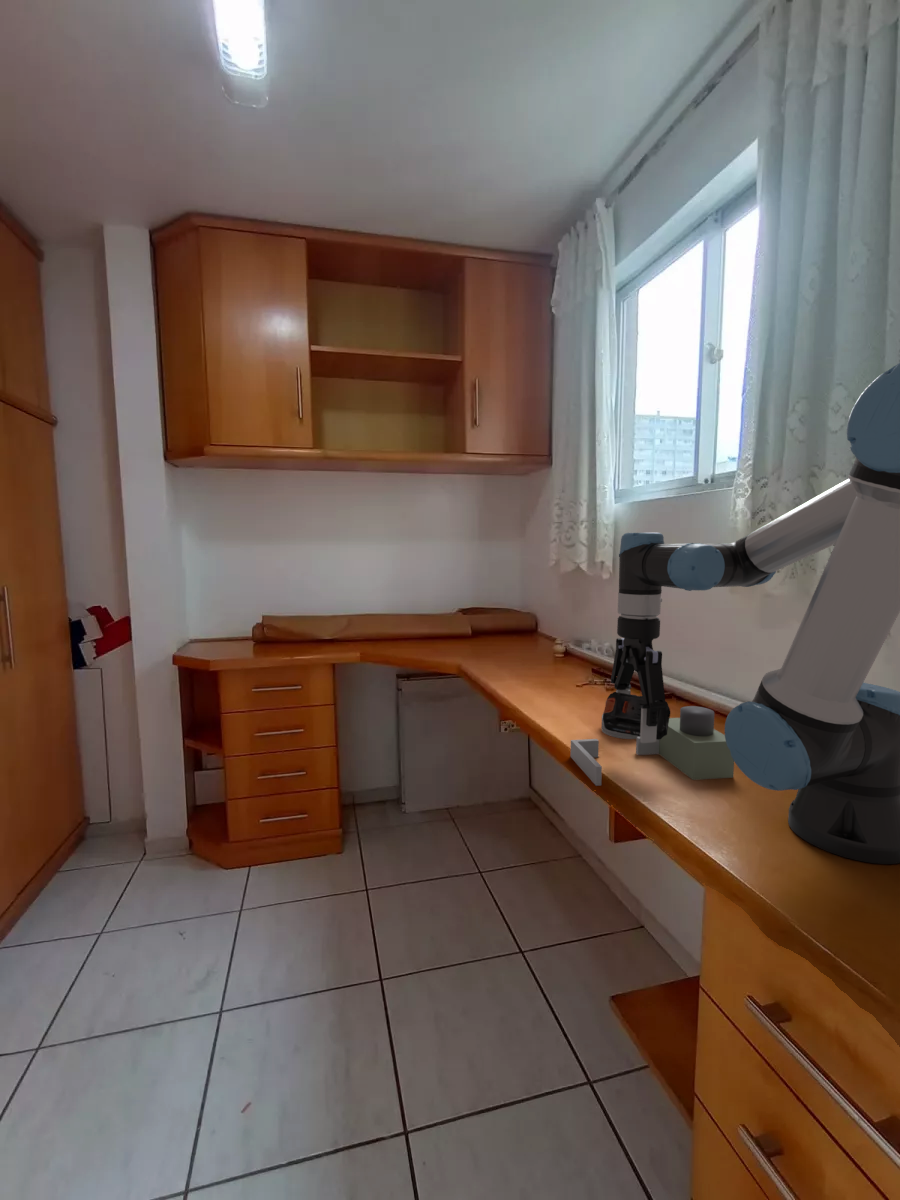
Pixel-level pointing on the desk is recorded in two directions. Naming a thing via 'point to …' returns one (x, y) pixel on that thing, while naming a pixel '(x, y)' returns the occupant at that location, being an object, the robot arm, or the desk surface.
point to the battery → (631, 715)
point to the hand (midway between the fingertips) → (634, 731)
